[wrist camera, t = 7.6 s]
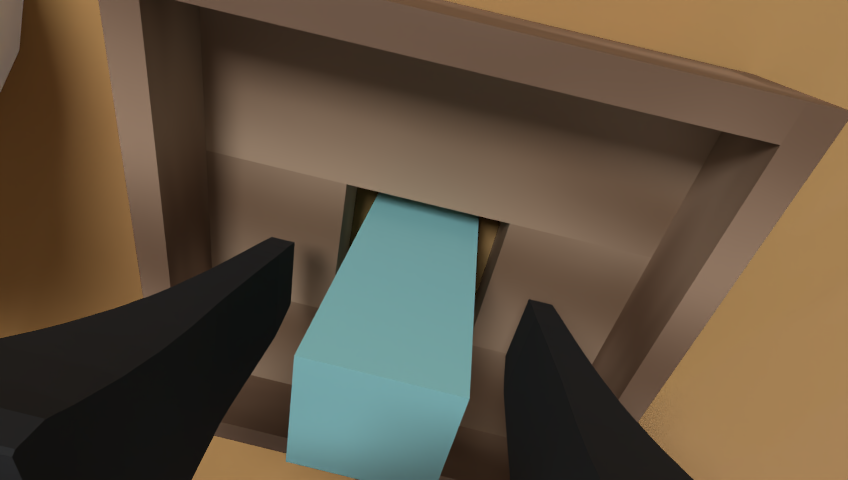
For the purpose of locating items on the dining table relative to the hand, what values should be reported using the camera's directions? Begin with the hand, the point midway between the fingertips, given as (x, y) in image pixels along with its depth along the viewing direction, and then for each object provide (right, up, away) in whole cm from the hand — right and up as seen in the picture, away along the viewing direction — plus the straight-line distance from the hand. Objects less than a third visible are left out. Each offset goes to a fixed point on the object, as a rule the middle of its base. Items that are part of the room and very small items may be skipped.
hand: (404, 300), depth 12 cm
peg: (0, +2, +2) cm, 3 cm away
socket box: (0, +1, +3) cm, 3 cm away
